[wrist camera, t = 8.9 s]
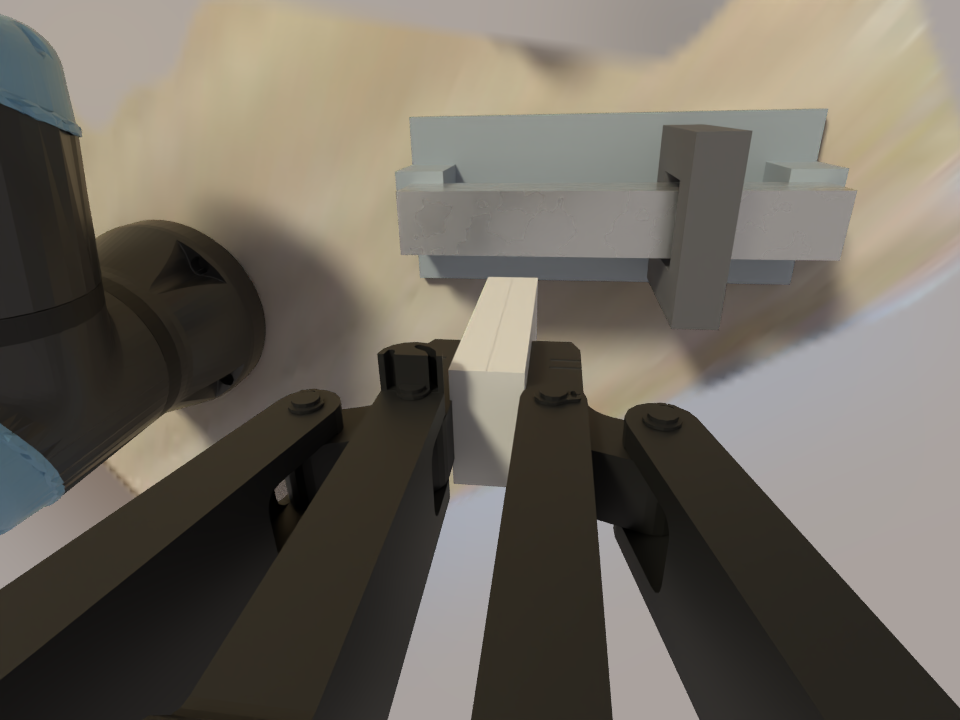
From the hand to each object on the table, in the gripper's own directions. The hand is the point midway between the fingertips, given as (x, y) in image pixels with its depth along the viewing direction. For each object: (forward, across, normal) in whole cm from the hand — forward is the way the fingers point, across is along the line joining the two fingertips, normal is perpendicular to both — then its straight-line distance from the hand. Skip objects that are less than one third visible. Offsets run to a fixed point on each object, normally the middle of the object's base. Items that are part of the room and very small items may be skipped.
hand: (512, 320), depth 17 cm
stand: (+24, +4, 0) cm, 24 cm away
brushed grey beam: (+19, +4, 0) cm, 20 cm away
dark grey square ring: (+22, +9, 0) cm, 24 cm away
